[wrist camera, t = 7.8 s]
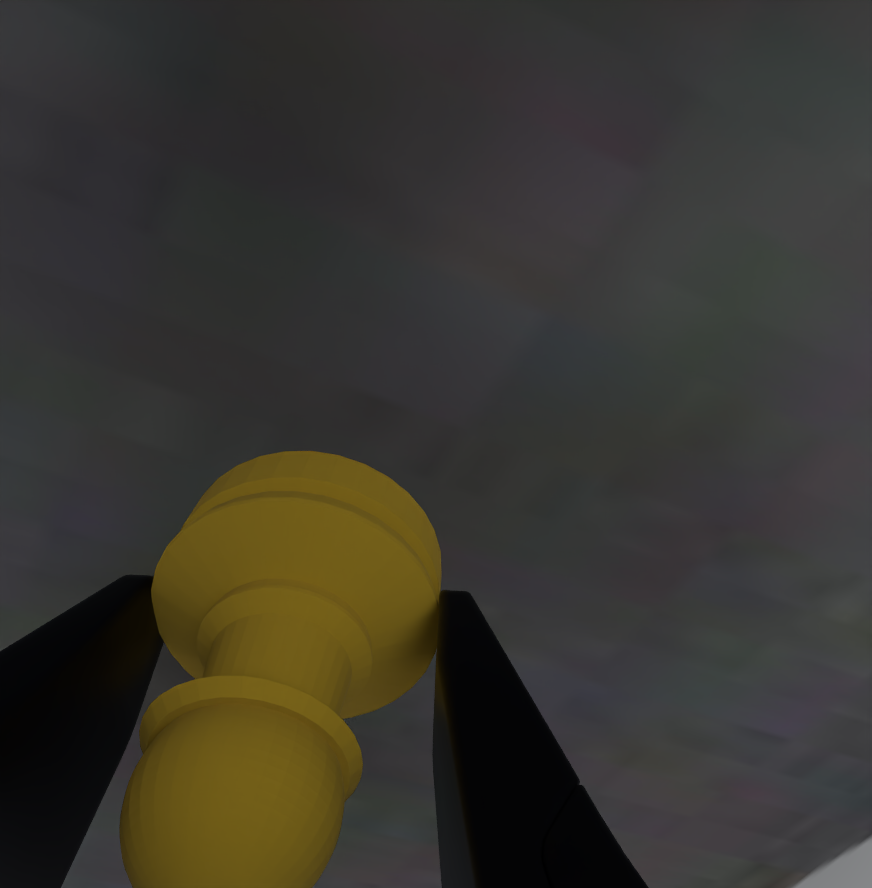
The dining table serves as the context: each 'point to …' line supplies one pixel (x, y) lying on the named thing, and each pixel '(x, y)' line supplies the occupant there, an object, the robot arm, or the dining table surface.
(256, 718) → the chess piece
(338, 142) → the dining table surface
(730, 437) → the dining table surface
